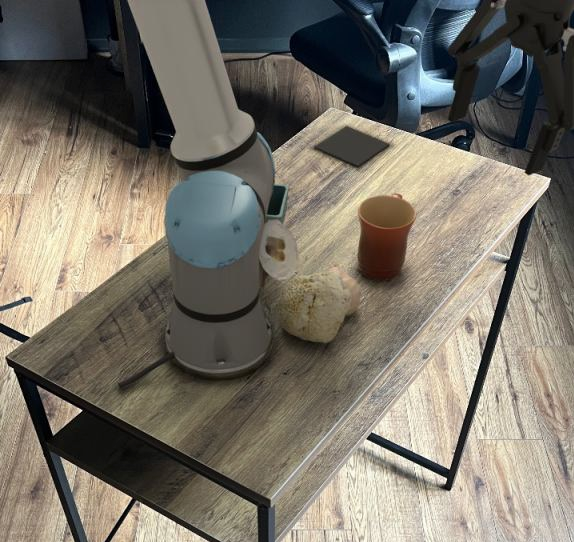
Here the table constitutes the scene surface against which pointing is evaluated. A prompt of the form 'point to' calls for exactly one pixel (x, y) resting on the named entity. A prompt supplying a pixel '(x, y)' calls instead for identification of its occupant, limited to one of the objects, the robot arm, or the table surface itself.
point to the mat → (351, 146)
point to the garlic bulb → (349, 288)
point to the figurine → (277, 252)
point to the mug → (384, 235)
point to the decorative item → (314, 306)
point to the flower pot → (278, 203)
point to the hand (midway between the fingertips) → (494, 144)
